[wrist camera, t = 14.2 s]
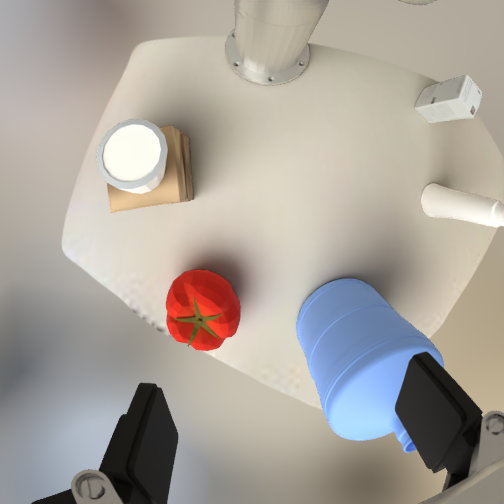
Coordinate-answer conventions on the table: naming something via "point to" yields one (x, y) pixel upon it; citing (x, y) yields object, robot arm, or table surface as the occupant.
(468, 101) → the skincare box
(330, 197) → the table surface
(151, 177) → the white cup
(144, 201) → the tower top block
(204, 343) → the tomato
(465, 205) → the cosmetic bottle
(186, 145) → the tower base block
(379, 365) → the water jug
